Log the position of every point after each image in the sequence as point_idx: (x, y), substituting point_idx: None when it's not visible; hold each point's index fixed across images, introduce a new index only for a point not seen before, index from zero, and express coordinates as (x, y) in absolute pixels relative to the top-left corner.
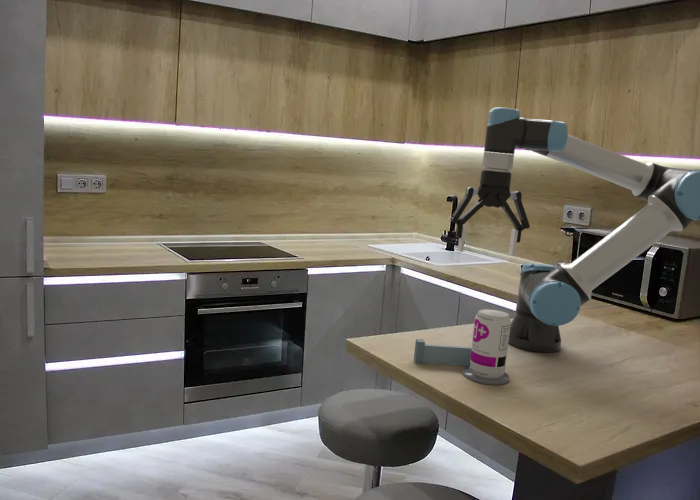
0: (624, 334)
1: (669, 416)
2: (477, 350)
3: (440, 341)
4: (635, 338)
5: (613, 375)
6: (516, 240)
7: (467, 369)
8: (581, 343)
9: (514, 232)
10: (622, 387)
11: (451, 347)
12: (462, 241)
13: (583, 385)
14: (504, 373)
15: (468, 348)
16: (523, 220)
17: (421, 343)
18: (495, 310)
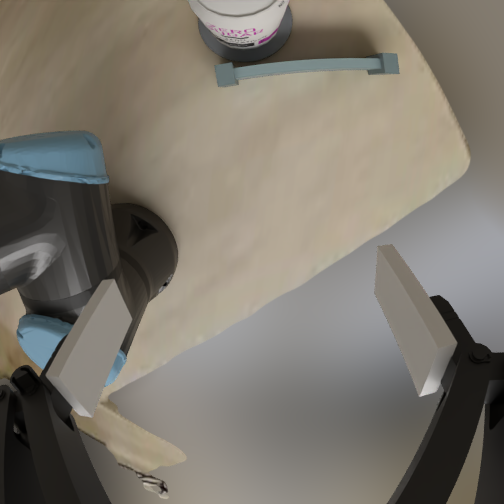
0: None
1: (6, 8)
2: None
3: (314, 203)
4: (16, 319)
5: (25, 134)
6: (71, 332)
7: (281, 31)
8: None
9: (69, 373)
10: (23, 83)
11: (320, 59)
12: (408, 276)
13: (72, 56)
14: (205, 33)
15: (281, 62)
16: (4, 427)
17: (388, 53)
18: (226, 13)
